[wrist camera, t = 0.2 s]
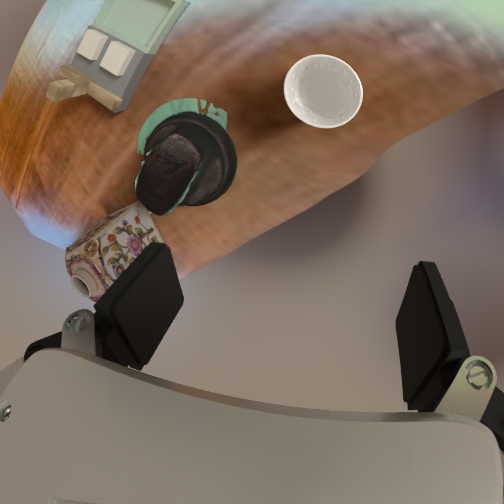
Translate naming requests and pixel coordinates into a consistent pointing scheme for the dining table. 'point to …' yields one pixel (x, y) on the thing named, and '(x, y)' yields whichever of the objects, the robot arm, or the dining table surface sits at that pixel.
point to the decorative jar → (109, 249)
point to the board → (115, 84)
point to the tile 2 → (117, 58)
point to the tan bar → (81, 88)
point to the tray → (140, 21)
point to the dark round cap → (184, 157)
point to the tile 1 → (92, 44)
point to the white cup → (323, 91)
